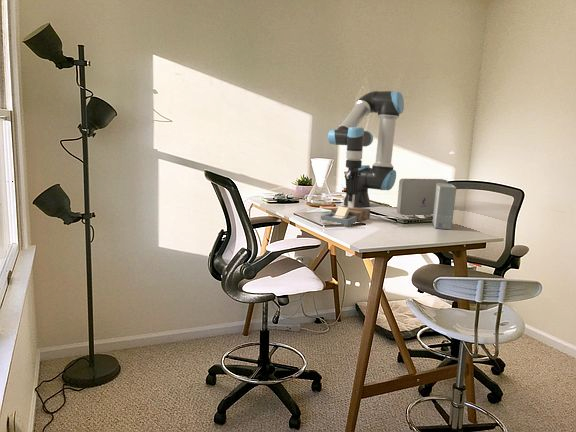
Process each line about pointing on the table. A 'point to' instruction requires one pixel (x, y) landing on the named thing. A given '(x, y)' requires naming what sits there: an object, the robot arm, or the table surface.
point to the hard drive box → (444, 206)
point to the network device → (417, 196)
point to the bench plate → (357, 213)
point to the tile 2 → (342, 212)
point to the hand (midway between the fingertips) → (350, 207)
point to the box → (339, 219)
